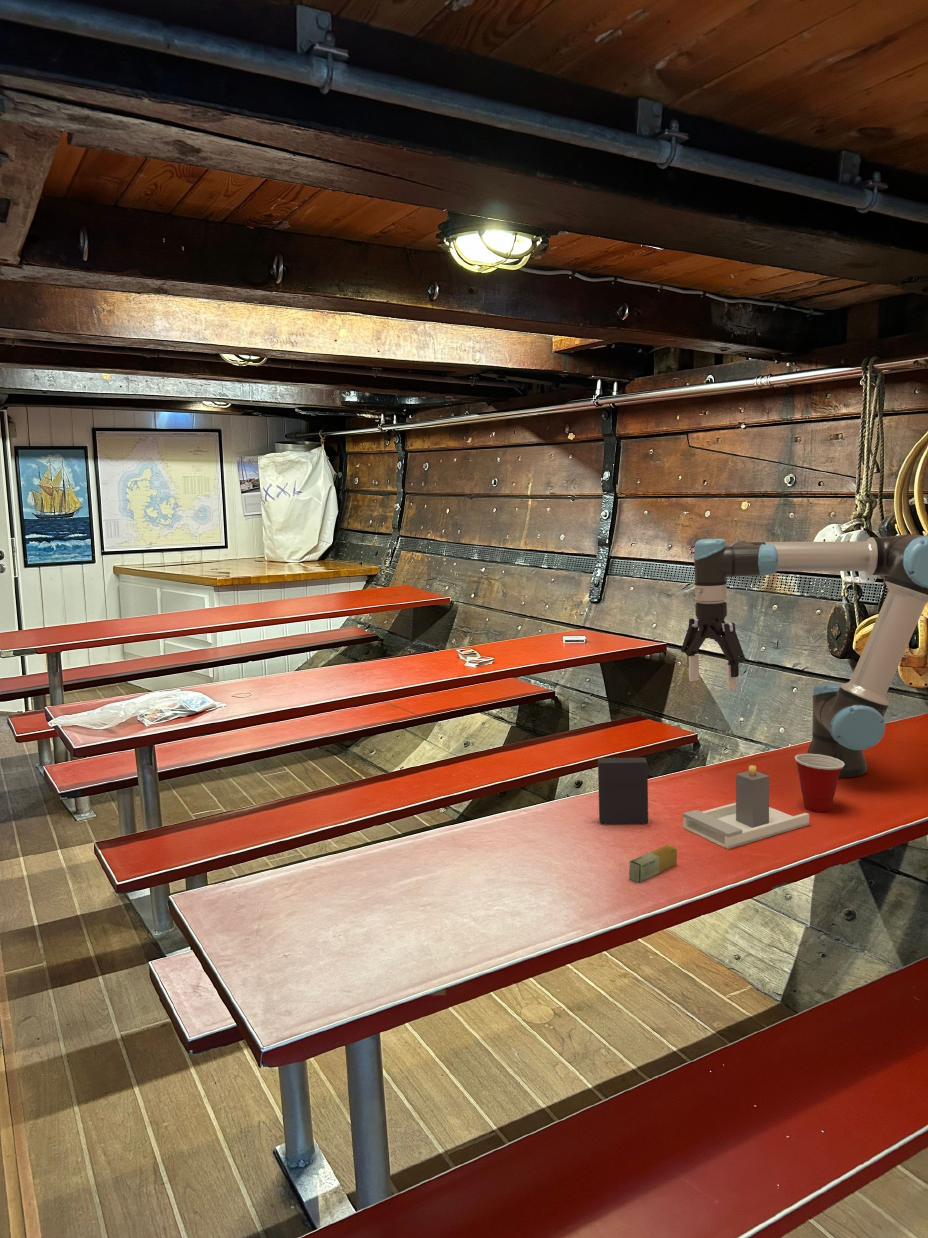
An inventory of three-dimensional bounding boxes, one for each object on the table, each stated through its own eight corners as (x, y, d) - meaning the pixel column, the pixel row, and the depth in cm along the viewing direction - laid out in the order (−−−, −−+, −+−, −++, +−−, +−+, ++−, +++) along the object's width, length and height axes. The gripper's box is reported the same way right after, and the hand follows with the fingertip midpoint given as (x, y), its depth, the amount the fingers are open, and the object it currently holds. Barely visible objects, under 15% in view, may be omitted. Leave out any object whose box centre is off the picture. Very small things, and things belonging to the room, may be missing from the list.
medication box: (639, 884, 167) (639, 865, 166) (628, 879, 169) (628, 860, 168) (677, 866, 174) (677, 847, 174) (666, 861, 176) (666, 843, 176)
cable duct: (761, 806, 203) (761, 792, 203) (809, 825, 191) (809, 810, 191) (683, 827, 193) (682, 813, 192) (728, 849, 180) (728, 834, 180)
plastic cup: (851, 816, 195) (853, 765, 194) (804, 817, 196) (804, 767, 194) (832, 799, 206) (833, 751, 204) (787, 800, 206) (787, 752, 205)
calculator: (646, 818, 199) (645, 756, 197) (648, 825, 195) (647, 762, 193) (599, 818, 200) (597, 757, 198) (600, 825, 196) (598, 762, 194)
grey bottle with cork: (752, 816, 196) (752, 761, 194) (769, 823, 192) (769, 767, 190) (735, 820, 194) (736, 765, 192) (752, 828, 189) (752, 771, 188)
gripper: (666, 599, 222) (668, 679, 225) (736, 607, 200) (737, 696, 203) (688, 596, 225) (690, 675, 228) (760, 604, 203) (761, 691, 206)
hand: (712, 685), depth 215 cm, fingers open, 13 cm apart
